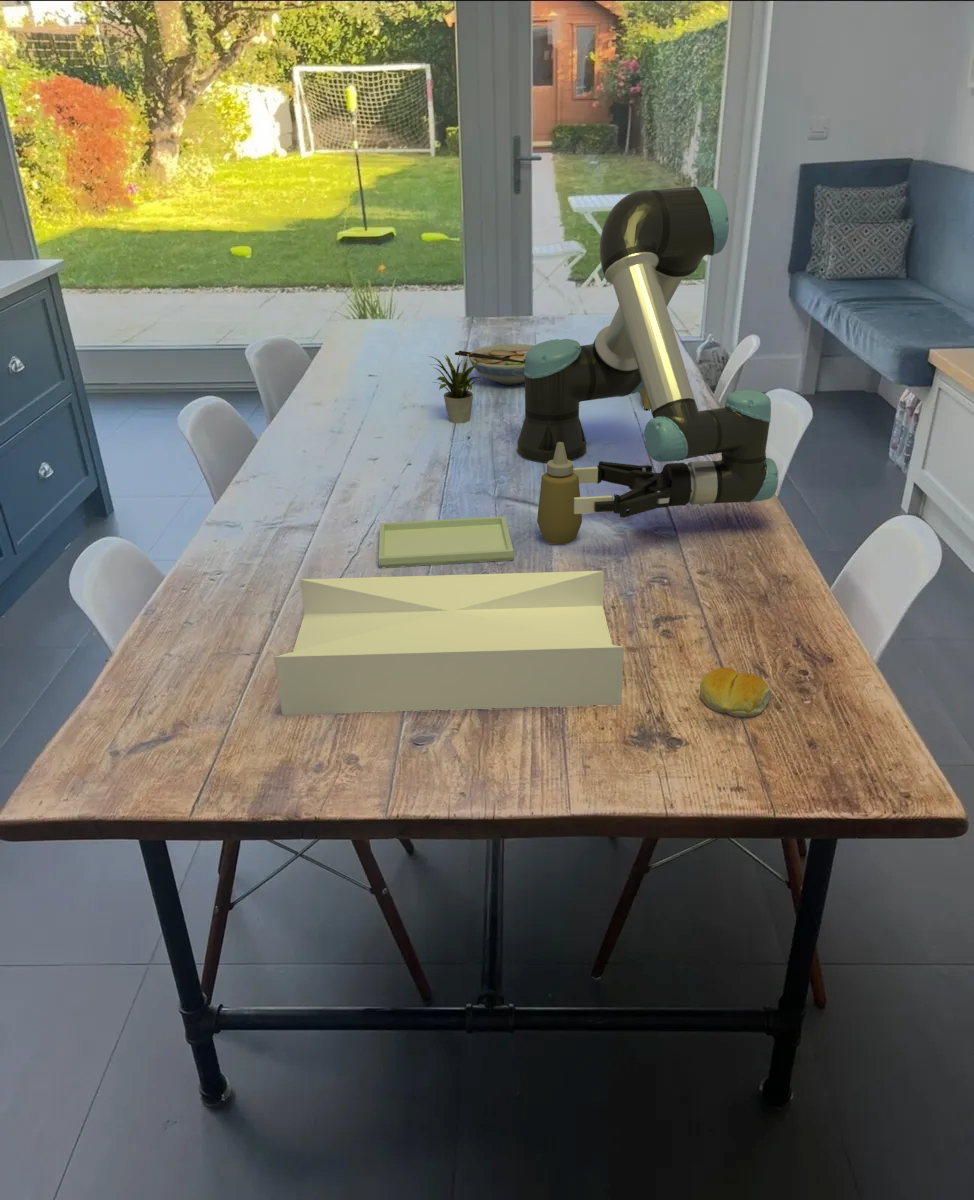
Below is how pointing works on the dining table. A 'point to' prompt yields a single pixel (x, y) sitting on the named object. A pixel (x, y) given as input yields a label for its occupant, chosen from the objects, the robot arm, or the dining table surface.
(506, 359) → the ramen bowl
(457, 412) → the house plant
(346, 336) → the dining table surface
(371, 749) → the dining table surface
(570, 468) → the squeeze bottle
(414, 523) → the tray
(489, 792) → the dining table surface
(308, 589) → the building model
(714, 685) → the bread roll
